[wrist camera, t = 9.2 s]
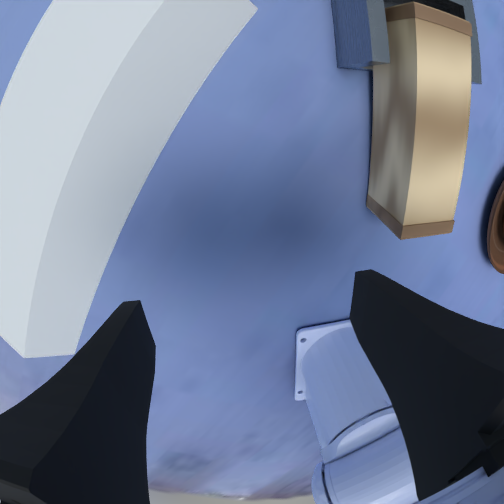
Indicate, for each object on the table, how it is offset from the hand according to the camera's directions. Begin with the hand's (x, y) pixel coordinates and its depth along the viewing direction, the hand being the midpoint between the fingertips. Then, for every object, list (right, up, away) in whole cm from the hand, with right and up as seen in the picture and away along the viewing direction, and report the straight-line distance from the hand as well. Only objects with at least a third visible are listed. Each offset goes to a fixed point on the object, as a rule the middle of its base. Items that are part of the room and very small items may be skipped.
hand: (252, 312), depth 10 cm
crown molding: (-13, +7, +7) cm, 16 cm away
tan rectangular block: (+9, +11, +6) cm, 16 cm away
